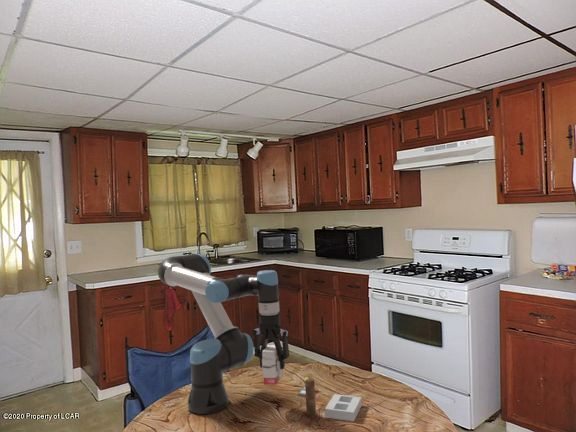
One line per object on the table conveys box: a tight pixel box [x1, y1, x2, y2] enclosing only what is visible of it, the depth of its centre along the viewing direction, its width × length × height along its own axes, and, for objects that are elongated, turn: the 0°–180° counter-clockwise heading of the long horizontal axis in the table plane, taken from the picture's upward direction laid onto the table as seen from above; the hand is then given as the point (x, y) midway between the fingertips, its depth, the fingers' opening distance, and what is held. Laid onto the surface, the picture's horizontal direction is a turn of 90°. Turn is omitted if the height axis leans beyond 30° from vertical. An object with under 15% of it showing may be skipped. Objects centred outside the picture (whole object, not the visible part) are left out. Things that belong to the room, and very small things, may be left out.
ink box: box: [262, 344, 281, 386], centre depth 151 cm, size 9×5×12 cm, turn 167°
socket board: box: [324, 393, 363, 422], centre depth 146 cm, size 10×12×3 cm
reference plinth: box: [297, 376, 310, 397], centre depth 164 cm, size 4×8×5 cm, turn 158°
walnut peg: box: [304, 378, 317, 419], centre depth 144 cm, size 3×3×12 cm
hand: (272, 376), depth 151 cm, fingers closed on ink box, 5 cm apart
